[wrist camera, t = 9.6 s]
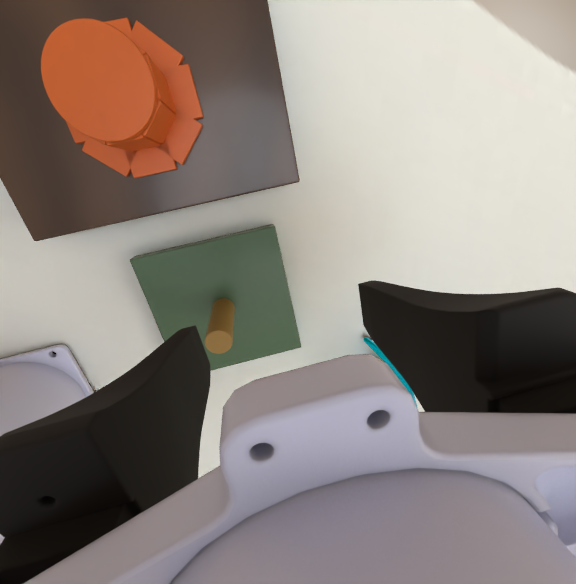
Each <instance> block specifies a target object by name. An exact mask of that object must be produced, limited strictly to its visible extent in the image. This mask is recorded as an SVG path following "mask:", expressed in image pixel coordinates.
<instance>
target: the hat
mask: <svg viewBox="0 0 576 584" xmlns="http://www.w3.org/2000/svg"><path fill="white" fill-rule="evenodd" d="M183 60H184V57H183V55H182V54H180V53H179V52H178V51H177V50H175V49H174V48H173V47H171V46H170V45H169V44H167V43H166V42H165V41H163V40H162V39H161V38H159V37H158V36H157V35H156V34H154V33H153V32H152V31H150V30H149V29H148V28H146V27H145V26H144V25H142V24H141V23H140V22H138V21H137V20H136V22H135V24H134V26H133V29H132V26H131V23H130V21H129V19H128V18H122V19H116V20H111V21H106V22H102V21H99V20H95V19H88V18H81V19H74V20H70V21H67V22H65V23H63V24H61V25H60V26H58V27H57V28H56V29H55V30H54V31H53V32H52V33H51V34H50V36H49V37H48V39H47V40H46V43H45V45H44V48H43V51H42V56H41V74H42V80H43V84H44V87H45V90H46V92H47V95H48V97H49V99H50V101H51V103H52V104H53V106H54V107H55V109H56V110H57V112H58V113H59V114H60V115H61V117H62V118H63V119H64V120H65V121H66V123H67V125H68V127H69V130H70V132H71V134H72V137H73V139H74V141H75V143H76V144H83V143H85V144H84V146H83V148H82V151H83V152H85V153H87V154H88V155H90V156H92V157H93V158H95V159H97V160H98V161H100V162H102V163H104V164H105V165H107V166H109V167H110V168H112V169H114V170H115V171H117V172H119V173H120V174H122V175H124V176H126V177H129V175H130V173H131V172H132V174H133V177H134V178H140V177H145V176H150V175H154V174H159V173H163V172H168V171H172V170H177V169H178V168H177V165H176V162H175V161H177V162H178V163H180V164H181V165H183V164H184V163H185V161H186V159H187V157H188V155H189V153H190V151H191V149H192V147H193V145H194V143H195V141H196V139H197V137H198V135H199V133H200V131H201V129H202V127H203V125H202V124H201V123H199V122H198V121H196V119H201V118H204V116H203V113H202V109H201V106H200V102H199V98H198V95H197V91H196V87H195V84H194V80H193V76H192V73H191V69H190V66H189V64H184V65H181V64H182V62H183Z"/></svg>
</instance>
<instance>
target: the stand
mask: <svg viewBox="0 0 576 584" xmlns="http://www.w3.org/2000/svg"><path fill="white" fill-rule="evenodd" d="M81 18H88V19H95V20H99V21H102V22H106V21H111V20H116V19H122V18H128V19H129V21H130V23H131V26H132V29H133V26H134V24H135V22H136V20H137V21H138V22H140V23H141V24H142V25H144V26H145V27H146V28H148V29H149V30H150V31H152V32H153V33H154V34H156V35H157V36H158V37H159V38H161V39H162V40H163V41H165V42H166V43H167V44H169V45H170V46H171V47H173V48H174V49H175V50H177V51H178V52H179V53H180V54H182V55H183V57H184V60H183V62H182V64H181V65H184V64H189V66H190V69H191V73H192V76H193V80H194V84H195V87H196V91H197V95H198V98H199V102H200V106H201V109H202V113H203V116H204V118H201V119H196V121H198V122H199V123H201V124H202V125H203V127H202V129H201V131H200V133H199V135H198V137H197V139H196V141H195V143H194V145H193V147H192V149H191V151H190V153H189V155H188V157H187V159H186V161H185V163H184V164H183V165H181V164H180V163H178V162H177V161H175V162H176V165H177V168H178V169H177V170H172V171H168V172H163V173H159V174H154V175H150V176H145V177H140V178H134V177H133V174H132V172H131V173H130V175H129V177H126V176H124V175H122V174H120V173H119V172H117V171H115V170H114V169H112V168H110V167H109V166H107V165H105V164H104V163H102V162H100V161H98V160H97V159H95V158H93V157H92V156H90V155H88V154H87V153H85V152H83V151H82V148H83V146H84V144H85V143H83V144H76V143H75V141H74V139H73V137H72V134H71V132H70V130H69V127H68V125H67V123H66V121H65V120H64V119H63V118H62V117H61V115H60V114H59V113H58V112H57V110H56V109H55V107H54V106H53V104H52V103H51V101H50V99H49V97H48V95H47V92H46V90H45V87H44V84H43V80H42V74H41V56H42V51H43V48H44V45H45V43H46V40H47V39H48V37H49V36H50V34H51V33H52V32H53V31H54V30H55V29H56V28H57V27H58V26H60V25H61V24H63V23H65V22H67V21H70V20H74V19H81ZM0 178H1V180H2V182H3V184H4V186H5V187H6V189H7V191H8V193H9V195H10V197H11V199H12V200H13V202H14V204H15V206H16V208H17V210H18V212H19V213H20V215H21V217H22V219H23V221H24V223H25V224H26V226H27V228H28V230H29V232H30V234H31V236H32V237H33V239H34V241H40V240H44V239H48V238H53V237H57V236H62V235H66V234H71V233H75V232H79V231H84V230H88V229H93V228H97V227H101V226H106V225H110V224H115V223H119V222H124V221H128V220H132V219H137V218H141V217H146V216H150V215H155V214H159V213H163V212H168V211H172V210H177V209H181V208H186V207H190V206H194V205H199V204H203V203H208V202H212V201H217V200H221V199H225V198H230V197H234V196H239V195H243V194H248V193H252V192H256V191H261V190H265V189H270V188H274V187H279V186H283V185H287V184H292V183H296V182H299V175H298V169H297V164H296V158H295V153H294V147H293V141H292V136H291V130H290V125H289V119H288V113H287V108H286V102H285V97H284V91H283V85H282V80H281V74H280V69H279V63H278V57H277V52H276V46H275V41H274V35H273V30H272V24H271V18H270V13H269V7H268V2H267V0H0Z"/></svg>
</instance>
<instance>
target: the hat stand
mask: <svg viewBox="0 0 576 584" xmlns="http://www.w3.org/2000/svg"><path fill="white" fill-rule="evenodd" d="M130 262H131V264H132V267H133V269H134V271H135V274H136V276H137V278H138V281H139V283H140V285H141V288H142V290H143V292H144V295H145V297H146V299H147V302H148V304H149V306H150V309H151V311H152V314H153V316H154V318H155V321H156V323H157V325H158V328H159V330H160V332H161V335H162V337H163V339H164V342H165V341H166V340H167V339H169V338H170V337H171V336H172V335H173V334H175V333H176V332H177V331H179V330H180V329H183V328H187V327H191V326H195V325H196V327H197V330H198V333H199V335H200V338H201V341H202V343H203V346H204V349H205V351H206V354H207V357H208V359H209V362H210V365H211V366H210V371H211V370H214V369H218V368H222V367H226V366H230V365H234V364H238V363H242V362H246V361H249V360H253V359H257V358H261V357H265V356H269V355H273V354H277V353H281V352H284V351H288V350H292V349H296V348H300V347H301V343H300V338H299V334H298V329H297V325H296V320H295V316H294V311H293V307H292V302H291V298H290V293H289V289H288V284H287V280H286V275H285V271H284V266H283V261H282V257H281V252H280V248H279V243H278V239H277V234H276V230H275V226H274V225H273V224H271V225H267V226H263V227H258V228H254V229H250V230H246V231H241V232H237V233H233V234H228V235H224V236H220V237H215V238H211V239H207V240H203V241H198V242H194V243H190V244H185V245H181V246H177V247H173V248H168V249H164V250H160V251H155V252H151V253H147V254H142V255H138V256H135V257H133V258H132V259H130Z"/></svg>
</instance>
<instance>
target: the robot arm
mask: <svg viewBox="0 0 576 584" xmlns="http://www.w3.org/2000/svg"><path fill="white" fill-rule="evenodd" d="M358 285H359V293H360V301H361V308H362V316H363V324H364V326H365V328H366V330H367V332H368V333H369V335H370V337H371V338H372V340H373V341H374V343H375V344H376V345H377V347H378V348H379V349H380V350H381V351H382V353H383V354H384V355H385V356H386V358H387V359H388V360H389V361H390V362H391V364H392V365H393V366H394V367H395V368H396V370H397V371H398V372H399V373H400V374H401V376H402V377H403V378H404V380H405V381H406V382H407V384H408V385H409V387H410V388H411V390H412V391H413V393H414V394H415V396H416V397H417V399H418V401H419V402H420V404H421V405H422V407H423V409H424V410H425V412H418V409H417V407H416V405H415V402H414V400H413V398H412V395H411V394H410V393H409V391H408V390H407V389H406V387H405V386H404V385H403V384H402V382H401V381H400V380H399V378H398V377H397V376H396V374H395V373H394V372H393V371H392V369H391V368H390V367H389V365H388V364H387V363H386V362H384V361H382V360H380V359H378V358H376V357H374V356H373V355H371V354H364V355H347V356H343V357H339V358H336V359H332V360H328V361H324V362H321V363H317V364H313V365H309V366H305V367H302V368H298V369H294V370H290V371H287V372H283V373H279V374H275V375H272V376H268V377H264V378H260V379H256V380H254V381H252V382H250V383H248V384H246V385H244V386H242V387H240V388H238V389H236V390H234V392H233V393H232V395H231V396H230V398H229V399H228V401H227V402H226V404H225V405H224V407H223V415H222V427H221V438H220V466H219V467H217V468H215V469H214V470H212V471H210V472H209V473H207V474H205V475H204V476H202V477H200V478H199V479H198V464H199V450H200V438H201V431H202V425H203V420H204V415H205V409H206V404H207V399H208V393H209V387H210V366H211V365H210V362H209V359H208V357H207V354H206V351H205V349H204V346H203V343H202V341H201V338H200V335H199V333H198V330H197V327H196V325H195V326H191V327H187V328H183V329H180V330H179V331H177V332H176V333H175V334H173V335H172V336H171V337H170V338H169V339H167V340H166V341H165V342H164V343H163V344H162V345H160V346H159V347H158V348H157V349H156V350H155V351H153V352H152V353H151V354H150V355H149V356H147V357H146V358H145V359H144V360H142V361H141V362H140V363H139V364H137V365H136V366H135V367H133V368H132V369H131V370H129V371H128V372H126V373H125V374H124V375H122V376H121V377H119V378H118V379H116V380H115V381H113V382H111V383H110V384H108V385H106V386H105V387H103V388H101V389H99V390H98V391H96V392H94V391H93V390H92V388H91V386H90V384H89V383H88V381H87V379H86V378H85V376H84V374H83V372H82V371H81V369H80V367H79V365H78V364H77V362H76V360H75V358H74V357H73V355H72V353H71V351H70V350H69V348H68V347H67V346H65V345H62V344H61V345H55V346H51V347H47V348H43V349H39V350H35V351H31V352H27V353H23V354H19V355H15V356H11V357H6V358H2V359H0V584H576V293H573V292H570V291H568V290H565V289H562V288H551V289H543V290H535V291H527V292H518V293H504V294H452V293H440V292H432V291H425V290H419V289H414V288H409V287H404V286H399V285H395V284H390V283H386V282H380V281H368V282H364V283H360V284H358ZM52 351H53V352H55V353H56V355H55V354H53V353H52Z"/></svg>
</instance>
